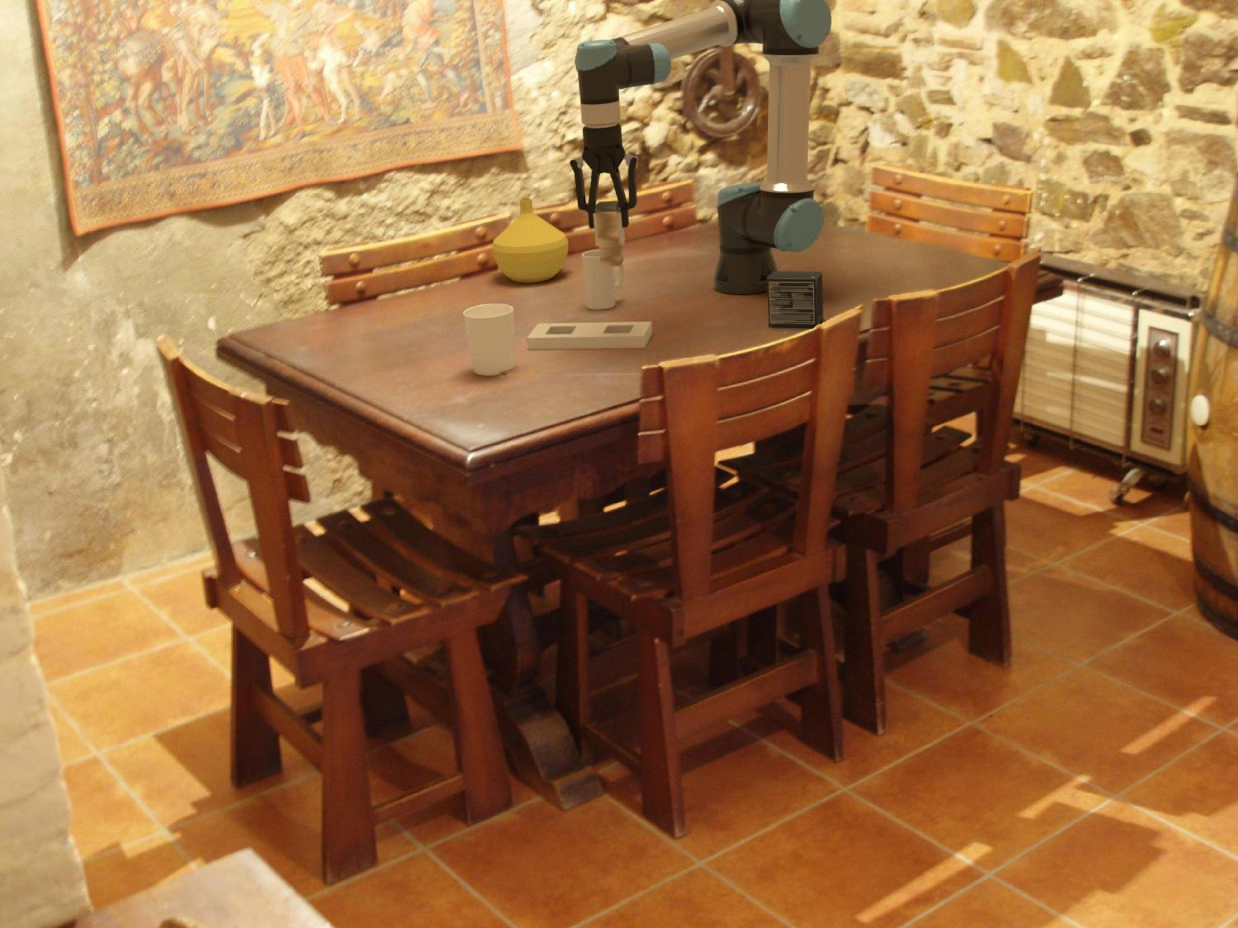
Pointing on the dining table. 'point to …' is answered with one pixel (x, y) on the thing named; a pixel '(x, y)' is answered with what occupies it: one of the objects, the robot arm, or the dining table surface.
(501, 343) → the beige cup
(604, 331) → the panel
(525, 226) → the vase
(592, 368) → the dining table surface
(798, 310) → the small box
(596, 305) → the mug
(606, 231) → the plug
